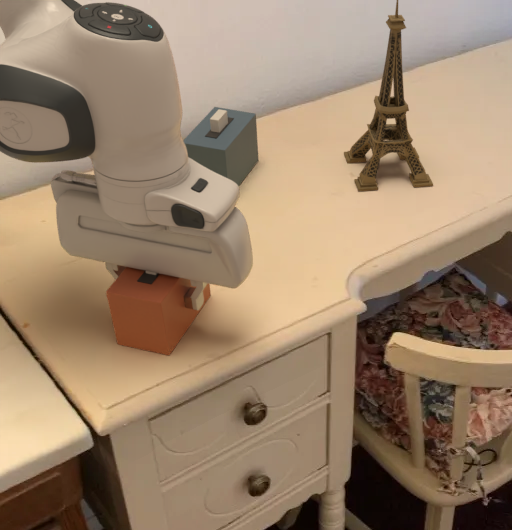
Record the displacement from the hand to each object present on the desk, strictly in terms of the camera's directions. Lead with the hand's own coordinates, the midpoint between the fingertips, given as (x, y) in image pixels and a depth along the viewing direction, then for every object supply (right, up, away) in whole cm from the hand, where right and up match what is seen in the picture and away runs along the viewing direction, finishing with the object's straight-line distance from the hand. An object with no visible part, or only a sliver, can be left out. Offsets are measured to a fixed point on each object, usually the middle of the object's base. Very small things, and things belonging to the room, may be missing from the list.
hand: (163, 299), depth 90 cm
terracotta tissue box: (0, -2, +2) cm, 3 cm away
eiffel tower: (+24, +21, +28) cm, 43 cm away
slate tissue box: (+2, +20, +25) cm, 32 cm away
